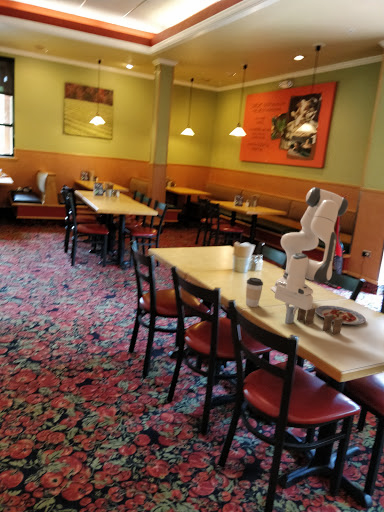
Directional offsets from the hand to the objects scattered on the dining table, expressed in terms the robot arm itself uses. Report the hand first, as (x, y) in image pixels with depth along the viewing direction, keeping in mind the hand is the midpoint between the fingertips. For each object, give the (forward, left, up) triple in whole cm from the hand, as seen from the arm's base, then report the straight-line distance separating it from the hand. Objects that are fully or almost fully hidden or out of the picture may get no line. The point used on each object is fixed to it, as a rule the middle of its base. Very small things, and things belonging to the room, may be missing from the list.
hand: (290, 312), depth 208 cm
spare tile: (0, 0, -5) cm, 5 cm away
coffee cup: (-26, -7, -5) cm, 27 cm away
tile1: (-2, +9, -5) cm, 10 cm away
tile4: (+12, +14, -5) cm, 19 cm away
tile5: (+16, +15, -5) cm, 23 cm away
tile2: (+2, +10, -5) cm, 12 cm away
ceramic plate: (-2, +33, -6) cm, 34 cm away
